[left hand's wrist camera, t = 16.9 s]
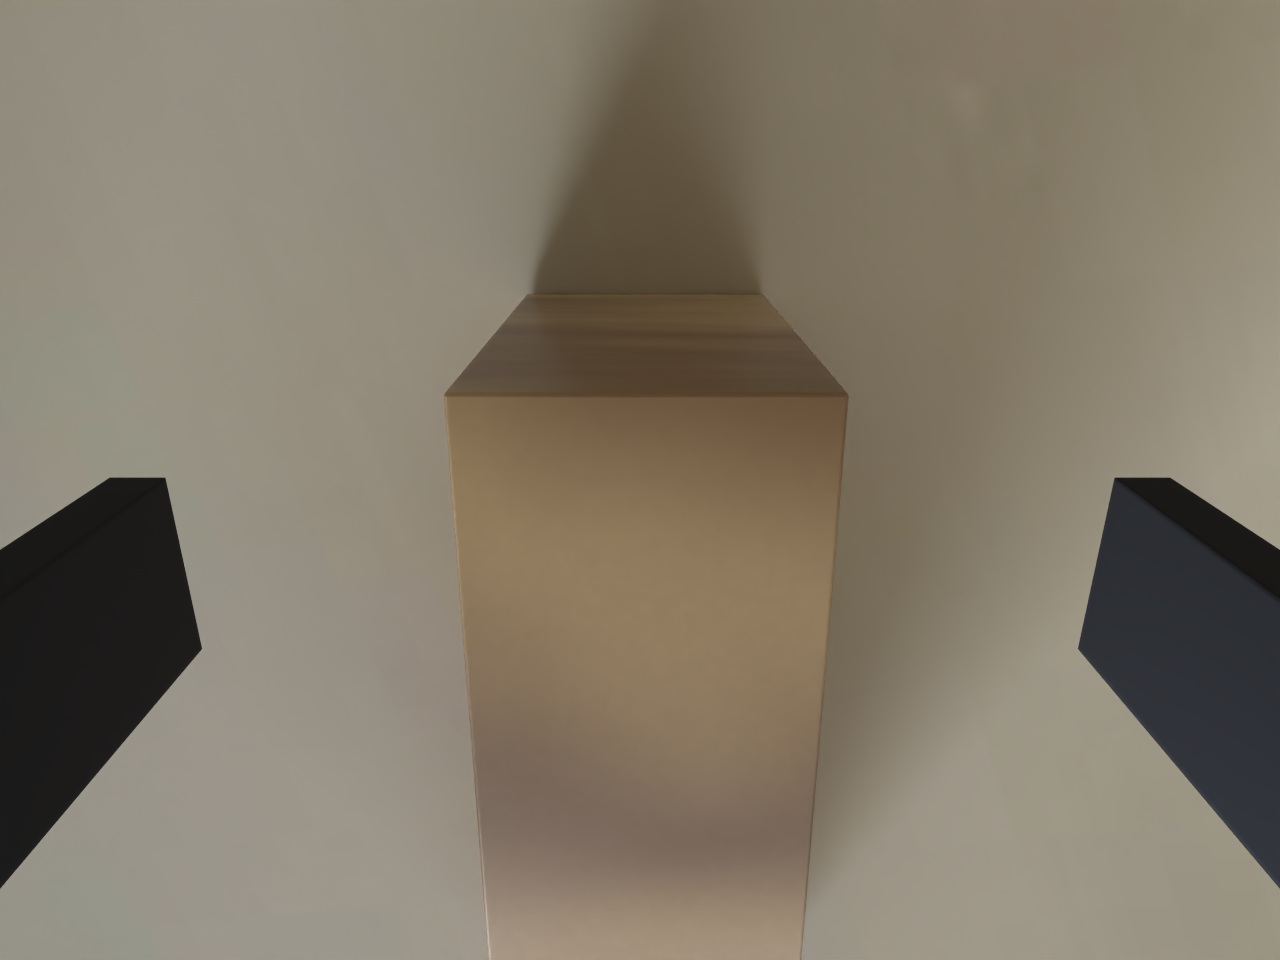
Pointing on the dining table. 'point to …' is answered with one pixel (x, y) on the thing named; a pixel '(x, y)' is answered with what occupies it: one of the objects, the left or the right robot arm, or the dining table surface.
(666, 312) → the bar
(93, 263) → the dining table surface
